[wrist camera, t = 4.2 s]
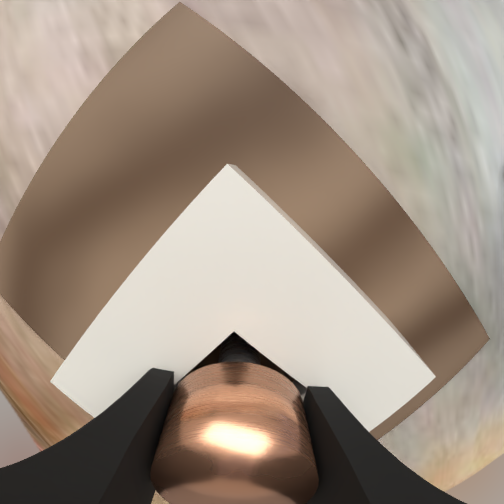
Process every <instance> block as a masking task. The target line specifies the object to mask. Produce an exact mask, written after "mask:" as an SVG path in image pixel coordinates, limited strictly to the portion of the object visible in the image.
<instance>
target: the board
mask: <svg viewBox="0 0 504 504" xmlns="http://www.w3.org/2000/svg"><path fill="white" fill-rule="evenodd" d="M226 164H232V165H236V166H237V167H238V168H239V169H240V170H241V171H242V172H244V173H245V174H246V175H247V176H248V177H249V178H250V179H251V180H252V181H253V182H254V183H255V184H256V185H257V186H258V187H259V188H260V189H262V190H263V191H264V192H265V193H266V194H267V195H268V196H269V197H270V198H271V199H272V200H273V201H274V202H275V203H276V204H277V205H278V206H279V207H280V208H281V209H282V210H283V211H284V212H285V213H286V214H287V215H288V216H289V217H290V218H291V219H293V220H294V221H295V222H296V223H297V224H298V225H299V226H300V227H301V228H302V229H303V230H304V231H305V232H306V233H307V234H308V235H309V236H310V237H311V238H312V239H313V240H314V241H315V242H316V243H317V244H318V245H319V246H320V247H321V248H322V249H323V250H324V251H325V252H326V253H327V255H328V256H329V257H330V258H331V259H332V260H333V261H334V262H335V263H336V264H337V265H338V266H339V267H340V268H341V269H342V270H343V271H344V272H345V273H346V274H347V275H348V276H349V277H350V278H351V279H352V280H353V281H354V282H355V283H356V284H357V286H358V287H359V288H360V289H361V290H362V291H363V292H364V293H365V294H366V295H367V296H368V297H369V298H370V299H371V300H372V301H373V303H374V304H375V305H376V306H377V307H378V308H379V309H380V310H381V311H382V312H383V313H384V314H385V315H386V317H387V318H388V319H389V320H390V321H391V322H392V324H393V325H394V326H395V327H396V328H397V329H398V331H399V332H400V333H401V334H402V335H403V337H404V338H405V339H406V340H407V342H408V343H409V344H410V345H411V346H412V348H413V349H414V350H415V351H416V353H417V354H418V355H419V356H420V357H421V359H422V360H423V361H424V362H425V364H426V365H427V366H428V367H429V369H430V370H431V371H432V372H433V374H434V375H435V376H436V377H435V378H434V379H433V380H432V381H431V382H430V383H429V384H428V385H427V386H425V387H424V388H423V389H422V390H421V391H420V392H419V393H417V394H416V395H415V396H414V397H413V398H412V399H410V400H409V401H408V402H407V403H406V404H404V405H403V406H402V407H401V408H400V409H398V410H397V411H396V412H395V413H393V414H392V415H391V416H390V417H388V418H387V419H386V420H384V421H383V422H382V423H380V424H379V425H378V426H376V427H375V428H374V429H372V430H371V431H370V432H369V433H370V434H371V435H372V436H373V437H374V438H375V439H376V440H378V439H379V438H381V437H382V436H384V435H385V434H386V433H388V432H389V431H390V430H392V429H393V428H394V427H396V426H397V425H398V424H399V423H401V422H402V421H403V420H404V419H406V418H407V417H408V416H409V415H411V414H412V413H413V412H414V411H416V410H417V409H418V408H419V407H420V406H422V405H423V404H424V403H425V402H426V401H427V400H429V399H430V398H431V397H432V396H433V395H434V394H435V393H436V392H438V391H439V390H440V389H441V388H442V387H443V386H444V385H445V384H446V383H447V382H448V381H449V380H451V379H452V378H453V377H454V376H455V375H456V374H457V373H458V372H459V371H460V370H461V369H462V368H463V367H464V366H465V365H466V364H467V363H468V362H469V361H470V360H471V359H472V358H473V357H474V356H475V354H476V353H477V352H478V351H479V350H480V349H481V348H482V347H483V346H484V345H485V344H486V343H487V341H488V340H489V339H490V338H489V336H488V335H487V333H486V331H485V329H484V327H483V326H482V324H481V322H480V321H479V319H478V317H477V315H476V314H475V312H474V310H473V309H472V307H471V305H470V304H469V302H468V301H467V299H466V297H465V296H464V294H463V293H462V291H461V289H460V288H459V286H458V285H457V283H456V282H455V280H454V279H453V277H452V276H451V274H450V273H449V271H448V270H447V268H446V267H445V265H444V264H443V262H442V261H441V259H440V258H439V257H438V255H437V254H436V252H435V251H434V250H433V248H432V247H431V245H430V244H429V243H428V241H427V240H426V239H425V237H424V236H423V234H422V233H421V232H420V230H419V229H418V228H417V226H416V225H415V224H414V223H413V221H412V220H411V219H410V217H409V216H408V215H407V214H406V212H405V211H404V210H403V208H402V207H401V206H400V205H399V203H398V202H397V201H396V200H395V199H394V197H393V196H392V195H391V194H390V192H389V191H388V190H387V189H386V188H385V186H384V185H383V184H382V183H381V182H380V181H379V179H378V178H377V177H376V176H375V175H374V174H373V172H372V171H371V170H370V169H369V168H368V167H367V166H366V165H365V163H364V162H363V161H362V160H361V159H360V158H359V157H358V156H357V155H356V153H355V152H354V151H353V150H352V149H351V148H350V147H349V146H348V145H347V144H346V143H345V142H344V141H343V140H342V138H341V137H340V136H339V135H338V134H337V133H336V132H335V131H334V130H333V129H332V128H331V127H330V126H329V125H328V124H327V123H326V122H325V121H324V120H323V119H322V118H321V117H320V116H319V115H318V114H317V113H316V112H315V111H314V110H313V109H312V108H311V107H310V106H309V105H308V104H306V103H305V102H304V101H303V100H302V99H301V98H300V97H299V96H298V95H297V94H296V93H295V92H294V91H293V90H291V89H290V88H289V87H288V86H287V85H286V84H285V83H284V82H283V81H281V80H280V79H279V78H278V77H277V76H276V75H275V74H274V73H272V72H271V71H270V70H269V69H268V68H267V67H265V66H264V65H263V64H262V63H261V62H259V61H258V60H257V59H256V58H255V57H253V56H252V55H251V54H250V53H249V52H247V51H246V50H245V49H244V48H242V47H241V46H240V45H239V44H237V43H236V42H235V41H233V40H232V39H231V38H230V37H228V36H227V35H226V34H224V33H223V32H222V31H220V30H219V29H218V28H216V27H215V26H214V25H212V24H211V23H209V22H208V21H207V20H205V19H204V18H202V17H201V16H200V15H198V14H197V13H195V12H194V11H192V10H191V9H190V8H188V7H187V6H185V5H184V4H182V3H181V2H179V3H178V4H177V5H176V6H174V7H173V8H172V9H171V10H170V11H169V12H168V13H167V14H165V15H164V16H163V17H162V18H161V19H160V20H159V21H158V22H157V23H156V24H155V25H154V26H152V27H151V28H150V29H149V30H148V31H147V32H146V33H145V34H144V35H143V36H142V37H141V38H140V39H139V40H138V41H137V42H136V43H135V44H134V45H133V46H132V47H131V48H130V50H129V51H128V52H127V53H126V54H125V55H124V56H123V57H122V58H121V59H120V60H119V61H118V62H117V64H116V65H115V66H114V67H113V68H112V69H111V70H110V71H109V73H108V74H107V75H106V76H105V77H104V78H103V80H102V81H101V82H100V83H99V84H98V86H97V87H96V88H95V89H94V91H93V92H92V93H91V94H90V95H89V97H88V98H87V99H86V101H85V102H84V103H83V104H82V106H81V107H80V108H79V110H78V111H77V112H76V114H75V115H74V116H73V118H72V119H71V121H70V122H69V123H68V125H67V126H66V128H65V129H64V130H63V132H62V133H61V135H60V136H59V138H58V139H57V141H56V142H55V144H54V145H53V147H52V148H51V150H50V151H49V153H48V154H47V156H46V158H45V159H44V161H43V162H42V164H41V166H40V167H39V169H38V171H37V172H36V174H35V176H34V177H33V179H32V181H31V182H30V184H29V186H28V188H27V190H26V191H25V193H24V195H23V197H22V199H21V201H20V202H19V204H18V206H17V208H16V210H15V212H14V214H13V216H12V218H11V220H10V222H9V224H8V226H7V228H6V231H5V233H4V235H3V237H2V239H1V241H0V294H1V295H2V297H3V298H4V299H5V300H6V301H7V302H8V303H9V305H10V306H11V307H12V308H13V309H14V310H15V311H16V312H17V313H18V315H19V316H20V317H21V318H22V319H23V320H24V321H25V322H26V323H27V324H28V325H29V326H30V327H31V328H32V329H33V330H34V331H35V332H36V333H37V334H38V335H39V336H40V337H41V338H42V339H43V340H44V341H45V342H46V343H47V344H48V345H49V346H50V347H51V348H52V349H53V350H54V351H55V352H56V353H58V354H59V355H60V356H61V357H62V358H63V359H64V360H65V359H66V358H67V357H68V355H69V354H70V352H71V351H72V350H73V348H74V347H75V345H76V344H77V343H78V341H79V340H80V339H81V337H82V336H83V334H84V333H85V332H86V330H87V329H88V328H89V326H90V325H91V324H92V322H93V321H94V320H95V318H96V317H97V316H98V314H99V313H100V312H101V310H102V309H103V308H104V307H105V305H106V304H107V303H108V301H109V300H110V299H111V298H112V296H113V295H114V294H115V292H116V291H117V290H118V289H119V287H120V286H121V285H122V284H123V282H124V281H125V280H126V279H127V277H128V276H129V275H130V274H131V272H132V271H133V270H134V269H135V268H136V266H137V265H138V264H139V263H140V261H141V260H142V259H143V258H144V257H145V255H146V254H147V253H148V252H149V251H150V249H151V248H152V247H153V246H154V245H155V243H156V242H157V241H158V240H159V239H160V238H161V236H162V235H163V234H164V233H165V232H166V231H167V229H168V228H169V227H170V226H171V225H172V224H173V223H174V221H175V220H176V219H177V218H178V217H179V216H180V215H181V213H182V212H183V211H184V210H185V209H186V208H187V207H188V206H189V204H190V203H191V202H192V201H193V200H194V199H195V198H196V197H197V196H198V195H199V193H200V192H201V191H202V190H203V189H204V188H205V187H206V186H207V185H208V184H209V183H210V181H211V180H212V179H213V178H214V177H215V176H216V175H217V174H218V173H219V172H220V171H221V170H222V169H223V168H224V167H225V165H226ZM220 348H221V343H220V344H219V345H218V346H217V347H216V348H215V349H214V350H213V351H212V352H211V353H209V354H208V355H207V356H206V357H205V358H204V359H203V360H202V361H201V362H199V363H198V364H197V365H196V366H195V367H194V368H193V369H192V370H190V371H189V372H188V373H187V374H186V375H185V376H188V375H189V374H190V373H192V372H194V371H196V370H197V369H200V368H202V367H205V366H208V365H212V364H216V363H218V361H219V355H220ZM260 365H262V366H265V367H267V368H270V369H272V370H275V371H277V372H279V373H280V374H282V375H283V376H285V377H286V378H287V379H289V380H290V381H291V382H293V381H294V380H295V379H294V378H293V377H291V376H290V375H289V374H288V373H286V372H285V371H284V370H282V369H281V368H280V367H278V366H277V365H276V364H274V363H273V362H272V361H271V360H269V359H268V358H267V357H265V356H264V355H263V354H262V353H260Z"/></svg>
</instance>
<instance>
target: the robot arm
mask: <svg viewBox="0 0 504 504" xmlns="http://www.w3.org/2000/svg"><path fill="white" fill-rule="evenodd" d="M173 393H174V371H168V370H162V369H157V368H151V369H150V370H148V371H147V372H146V373H145V374H144V375H143V376H142V377H141V378H140V379H139V380H138V381H137V382H136V383H135V384H134V385H133V386H132V387H131V388H130V389H129V390H128V391H126V392H125V393H124V394H123V395H122V396H121V397H120V398H119V399H117V400H116V401H115V402H114V403H113V404H112V405H110V406H109V407H108V408H107V409H106V410H104V411H103V412H102V413H101V414H99V415H98V416H97V417H95V418H94V419H93V420H91V421H90V422H88V423H87V424H86V425H84V426H83V427H82V428H80V429H79V430H77V431H76V432H74V433H73V434H71V435H70V436H68V437H66V438H65V439H63V440H62V441H60V442H58V443H56V444H55V445H53V446H51V447H49V448H47V449H45V450H43V451H41V452H39V453H37V454H35V455H33V456H31V457H29V458H27V459H24V460H22V461H20V462H17V463H14V464H12V465H9V466H6V467H3V468H0V504H151V502H152V499H153V496H154V493H155V488H154V486H153V484H152V481H151V478H150V471H151V467H152V463H153V460H154V456H155V453H156V449H157V446H158V442H159V439H160V436H161V432H162V429H163V426H164V422H165V419H166V416H167V412H168V409H169V406H170V402H171V399H172V396H173ZM303 405H304V410H305V414H306V419H307V424H308V429H309V433H310V438H311V443H312V448H313V453H314V458H315V463H316V468H317V473H318V478H319V483H318V488H317V490H316V492H315V494H314V495H313V497H312V498H311V499H310V500H309V501H308V502H307V503H305V504H466V503H464V502H462V501H460V500H458V499H456V498H454V497H452V496H450V495H448V494H447V493H445V492H443V491H442V490H440V489H438V488H436V487H435V486H433V485H432V484H430V483H429V482H427V481H426V480H424V479H423V478H421V477H420V476H419V475H417V474H416V473H415V472H413V471H412V470H411V469H409V468H408V467H407V466H405V465H404V464H403V463H402V462H400V461H399V460H398V459H397V458H396V457H395V456H394V455H392V454H391V453H390V452H389V451H388V450H387V449H386V448H385V447H384V446H383V445H381V444H380V443H379V442H378V441H377V440H376V439H375V438H374V437H373V436H372V435H371V434H370V433H369V432H368V430H367V429H366V428H365V427H364V426H363V425H362V424H361V423H360V422H359V421H358V420H357V419H356V418H355V416H354V415H353V414H352V413H351V412H350V411H349V410H348V408H347V407H346V406H345V405H344V404H343V403H342V402H341V400H340V399H339V398H338V397H337V396H336V395H335V393H334V392H333V391H332V390H331V389H330V388H329V387H319V386H308V387H307V390H306V393H305V397H304V400H303Z"/></svg>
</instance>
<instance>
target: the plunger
mask: <svg viewBox="0 0 504 504" xmlns="http://www.w3.org/2000/svg"><path fill="white" fill-rule="evenodd" d="M150 478H151V481H152V484H153V486H154V488H155V490H156V491H157V492H158V493H159V495H161V496H162V497H163V498H164V499H165V500H166V501H167V502H169V503H170V504H305V503H307V502H308V501H309V500H310V499H311V498H312V497H313V495H314V494H315V492H316V490H317V488H318V483H319V478H318V473H317V468H316V463H315V458H314V453H313V448H312V443H311V438H310V433H309V429H308V424H307V419H306V414H305V410H304V405H303V400H302V397H301V395H300V393H299V391H298V389H297V388H296V387H295V385H294V384H293V383H292V382H291V381H290V380H289V379H287V378H286V377H285V376H283V375H282V374H280V373H279V372H277V371H275V370H272V369H270V368H267V367H265V366H262V365H260V352H259V351H258V350H257V349H255V348H254V347H253V346H252V345H250V344H249V343H248V342H247V341H245V340H244V339H243V338H242V337H240V336H239V335H238V334H237V333H235V332H232V333H231V334H230V335H229V336H228V337H227V338H226V339H225V340H224V341H223V342H222V343H221V348H220V355H219V361H218V363H216V364H212V365H208V366H205V367H202V368H200V369H197V370H196V371H194V372H192V373H190V374H189V375H188V376H186V377H185V378H184V379H183V380H182V381H181V382H180V383H179V384H178V386H177V387H176V389H175V391H174V393H173V396H172V399H171V402H170V406H169V409H168V412H167V416H166V419H165V422H164V426H163V429H162V432H161V436H160V439H159V442H158V446H157V449H156V453H155V456H154V460H153V463H152V467H151V471H150Z"/></svg>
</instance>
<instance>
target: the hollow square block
mask: <svg viewBox="0 0 504 504" xmlns="http://www.w3.org/2000/svg"><path fill="white" fill-rule="evenodd" d="M232 332H235V333H237V334H238V335H239V336H240V337H242V338H243V339H244V340H245V341H247V342H248V343H249V344H250V345H252V346H253V347H254V348H255V349H257V350H258V351H259V352H260V353H262V354H263V355H264V356H265V357H267V358H268V359H269V360H271V361H272V362H273V363H274V364H276V365H277V366H278V367H280V368H281V369H282V370H284V371H285V372H286V373H288V374H289V375H290V376H291V377H293V378H294V379H295V380H294V381H293V382H292V383H293V384H294V385H295V387H296V388H297V389H298V391H299V393H300V395H301V397H302V400H304V397H305V393H306V390H307V387H308V386H319V387H329V388H330V389H331V390H332V391H333V392H334V393H335V395H336V396H337V397H338V398H339V399H340V400H341V402H342V403H343V404H344V405H345V406H346V407H347V408H348V410H349V411H350V412H351V413H352V414H353V415H354V416H355V418H356V419H357V420H358V421H359V422H360V423H361V424H362V425H363V426H364V427H365V428H366V429H367V430H368V432H370V431H371V430H372V429H374V428H375V427H376V426H378V425H379V424H380V423H382V422H383V421H384V420H386V419H387V418H388V417H390V416H391V415H392V414H393V413H395V412H396V411H397V410H398V409H400V408H401V407H402V406H403V405H404V404H406V403H407V402H408V401H409V400H410V399H412V398H413V397H414V396H415V395H416V394H417V393H419V392H420V391H421V390H422V389H423V388H424V387H425V386H427V385H428V384H429V383H430V382H431V381H432V380H433V379H434V378H435V377H436V376H435V375H434V374H433V372H432V371H431V370H430V369H429V367H428V366H427V365H426V364H425V362H424V361H423V360H422V359H421V357H420V356H419V355H418V354H417V353H416V351H415V350H414V349H413V348H412V346H411V345H410V344H409V343H408V342H407V340H406V339H405V338H404V337H403V335H402V334H401V333H400V332H399V331H398V329H397V328H396V327H395V326H394V325H393V324H392V322H391V321H390V320H389V319H388V318H387V317H386V315H385V314H384V313H383V312H382V311H381V310H380V309H379V308H378V307H377V306H376V305H375V304H374V303H373V301H372V300H371V299H370V298H369V297H368V296H367V295H366V294H365V293H364V292H363V291H362V290H361V289H360V288H359V287H358V286H357V284H356V283H355V282H354V281H353V280H352V279H351V278H350V277H349V276H348V275H347V274H346V273H345V272H344V271H343V270H342V269H341V268H340V267H339V266H338V265H337V264H336V263H335V262H334V261H333V260H332V259H331V258H330V257H329V256H328V255H327V253H326V252H325V251H324V250H323V249H322V248H321V247H320V246H319V245H318V244H317V243H316V242H315V241H314V240H313V239H312V238H311V237H310V236H309V235H308V234H307V233H306V232H305V231H304V230H303V229H302V228H301V227H300V226H299V225H298V224H297V223H296V222H295V221H294V220H293V219H291V218H290V217H289V216H288V215H287V214H286V213H285V212H284V211H283V210H282V209H281V208H280V207H279V206H278V205H277V204H276V203H275V202H274V201H273V200H272V199H271V198H270V197H269V196H268V195H267V194H266V193H265V192H264V191H263V190H262V189H260V188H259V187H258V186H257V185H256V184H255V183H254V182H253V181H252V180H251V179H250V178H249V177H248V176H247V175H246V174H245V173H244V172H242V171H241V170H240V169H239V168H238V167H237V166H236V165H232V164H226V165H225V167H224V168H223V169H222V170H221V171H220V172H219V173H218V174H217V175H216V176H215V177H214V178H213V179H212V180H211V181H210V183H209V184H208V185H207V186H206V187H205V188H204V189H203V190H202V191H201V192H200V193H199V195H198V196H197V197H196V198H195V199H194V200H193V201H192V202H191V203H190V204H189V206H188V207H187V208H186V209H185V210H184V211H183V212H182V213H181V215H180V216H179V217H178V218H177V219H176V220H175V221H174V223H173V224H172V225H171V226H170V227H169V228H168V229H167V231H166V232H165V233H164V234H163V235H162V236H161V238H160V239H159V240H158V241H157V242H156V243H155V245H154V246H153V247H152V248H151V249H150V251H149V252H148V253H147V254H146V255H145V257H144V258H143V259H142V260H141V261H140V263H139V264H138V265H137V266H136V268H135V269H134V270H133V271H132V272H131V274H130V275H129V276H128V277H127V279H126V280H125V281H124V282H123V284H122V285H121V286H120V287H119V289H118V290H117V291H116V292H115V294H114V295H113V296H112V298H111V299H110V300H109V301H108V303H107V304H106V305H105V307H104V308H103V309H102V310H101V312H100V313H99V314H98V316H97V317H96V318H95V320H94V321H93V322H92V324H91V325H90V326H89V328H88V329H87V330H86V332H85V333H84V334H83V336H82V337H81V339H80V340H79V341H78V343H77V344H76V345H75V347H74V348H73V350H72V351H71V352H70V354H69V355H68V357H67V358H66V359H65V361H64V362H63V364H62V365H61V366H60V368H59V369H58V371H57V372H56V374H55V375H54V377H53V378H52V380H51V381H50V382H51V383H53V384H54V385H55V386H56V387H57V388H58V389H59V390H61V391H62V392H63V393H64V394H65V395H67V396H68V397H69V398H70V399H71V400H73V401H74V402H75V403H76V404H78V405H79V406H80V407H81V408H83V409H84V410H85V411H86V412H88V413H89V414H90V415H92V416H93V417H94V418H95V417H97V416H98V415H99V414H101V413H102V412H103V411H104V410H106V409H107V408H108V407H109V406H110V405H112V404H113V403H114V402H115V401H116V400H117V399H119V398H120V397H121V396H122V395H123V394H124V393H125V392H126V391H128V390H129V389H130V388H131V387H132V386H133V385H134V384H135V383H136V382H137V381H138V380H139V379H140V378H141V377H142V376H143V375H144V374H145V373H146V372H147V371H148V370H150V369H151V368H157V369H162V370H168V371H174V391H175V389H176V387H177V386H178V384H179V383H180V382H181V381H182V380H183V379H184V378H185V377H186V376H185V375H186V374H187V373H188V372H189V371H190V370H192V369H193V368H194V367H195V366H196V365H197V364H198V363H199V362H201V361H202V360H203V359H204V358H205V357H206V356H207V355H208V354H209V353H211V352H212V351H213V350H214V349H215V348H216V347H217V346H218V345H219V344H220V343H222V342H223V341H224V340H225V339H226V338H227V337H228V336H229V335H230V334H231V333H232Z"/></svg>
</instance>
